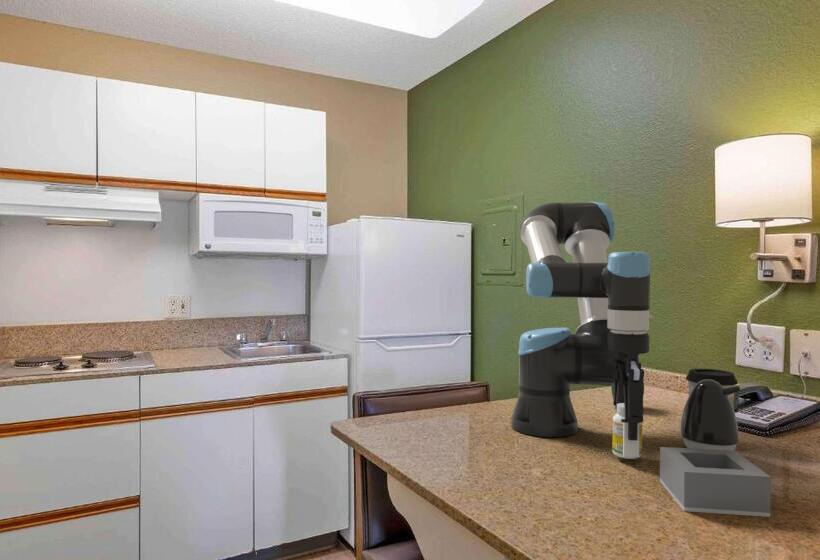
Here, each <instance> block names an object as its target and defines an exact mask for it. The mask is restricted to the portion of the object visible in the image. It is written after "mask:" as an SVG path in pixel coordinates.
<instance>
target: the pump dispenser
mask: <svg viewBox="0 0 820 560" xmlns="http://www.w3.org/2000/svg"><path fill="white" fill-rule="evenodd" d="M738 392H741V387H740V386H739V385H735V386H734V387H729V388H723V387H722V385H721V384H720V383H718V382H717V381H714V380H711V379H705V380H701V381H699V382H698V383H697V384H696V385H695V386H694V387H693V389H692V391H691V393H690V395H689V394H688V397H687V399H686V402H685V404H684V407H683V410H682V416H681V421H680V422H681V423H680V431H679V432H680V435H681V438H682V441H683V443H684V445H685V448H693V449H713V450H733V451H736V450H735V449H736V447H737V445H738V443H739V441H740V437H739V436H740V435H739V428H738V426H739V425H738V420H737V416H736V412H735V410H734V405H733V406H732V403H731V401H730V399H729V397H728V395H730V394H733V393H734V394H736V393H738Z"/></svg>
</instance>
